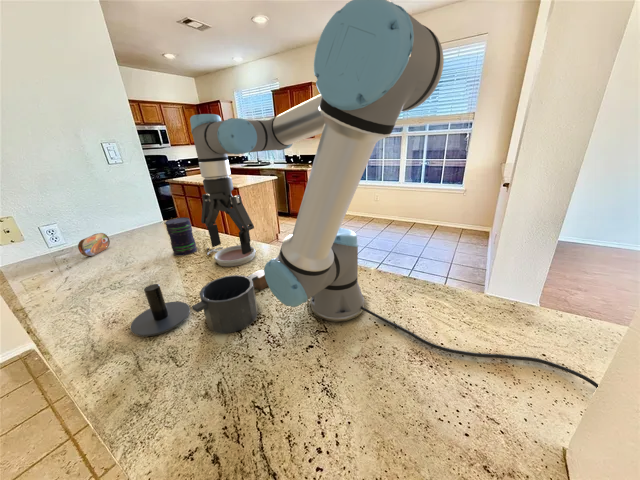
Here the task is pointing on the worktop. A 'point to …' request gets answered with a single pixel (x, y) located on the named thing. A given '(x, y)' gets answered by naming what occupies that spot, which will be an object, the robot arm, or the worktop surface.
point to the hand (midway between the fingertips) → (231, 249)
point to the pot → (228, 303)
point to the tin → (93, 244)
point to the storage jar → (181, 236)
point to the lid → (159, 314)
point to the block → (260, 280)
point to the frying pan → (232, 255)
